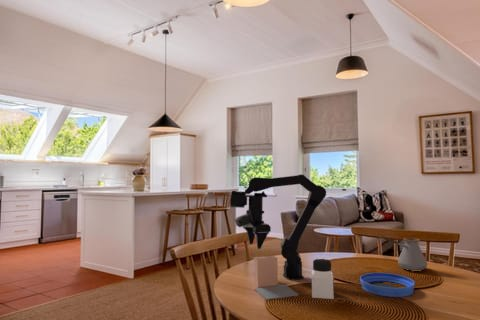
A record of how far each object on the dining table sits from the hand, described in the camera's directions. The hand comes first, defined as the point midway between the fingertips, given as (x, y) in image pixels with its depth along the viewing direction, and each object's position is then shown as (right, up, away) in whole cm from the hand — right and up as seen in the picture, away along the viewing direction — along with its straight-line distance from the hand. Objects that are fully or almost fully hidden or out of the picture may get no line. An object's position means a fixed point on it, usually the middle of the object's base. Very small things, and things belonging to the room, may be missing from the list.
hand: (254, 246), depth 141 cm
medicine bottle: (+22, -11, -23) cm, 34 cm away
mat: (+7, -11, -20) cm, 24 cm away
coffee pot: (+63, -12, +6) cm, 65 cm away
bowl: (+47, -11, -17) cm, 51 cm away
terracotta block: (+4, -12, -11) cm, 16 cm away
